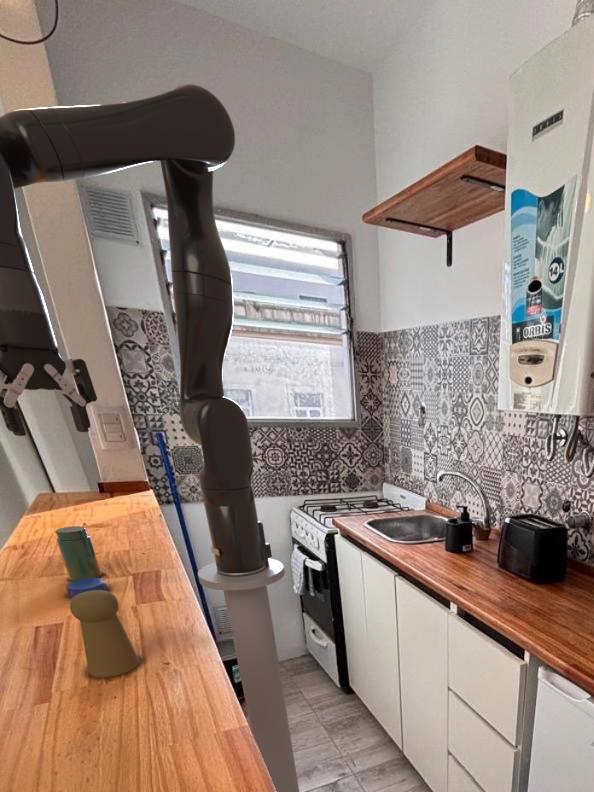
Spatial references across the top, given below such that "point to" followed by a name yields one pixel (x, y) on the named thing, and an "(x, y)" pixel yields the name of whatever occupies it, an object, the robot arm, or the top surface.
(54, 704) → the top surface
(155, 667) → the top surface
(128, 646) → the cork
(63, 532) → the jam jar
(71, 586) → the jar lid
